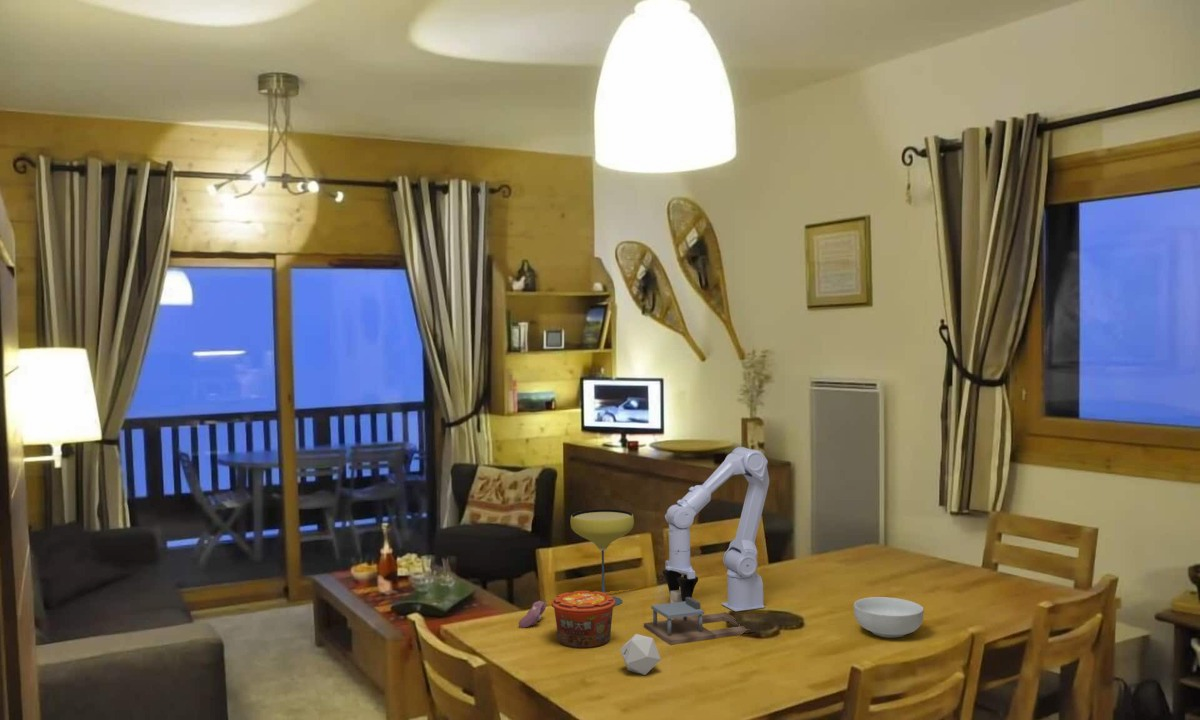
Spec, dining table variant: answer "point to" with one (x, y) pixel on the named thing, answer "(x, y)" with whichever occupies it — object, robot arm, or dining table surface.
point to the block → (675, 596)
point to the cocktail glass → (602, 529)
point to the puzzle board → (694, 629)
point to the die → (640, 654)
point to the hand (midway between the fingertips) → (680, 599)
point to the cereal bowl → (888, 616)
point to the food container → (583, 618)
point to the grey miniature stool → (678, 611)
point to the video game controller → (533, 614)
